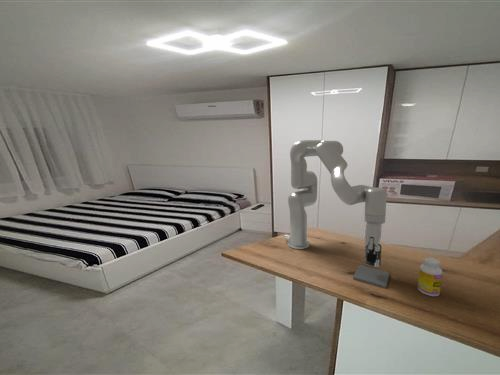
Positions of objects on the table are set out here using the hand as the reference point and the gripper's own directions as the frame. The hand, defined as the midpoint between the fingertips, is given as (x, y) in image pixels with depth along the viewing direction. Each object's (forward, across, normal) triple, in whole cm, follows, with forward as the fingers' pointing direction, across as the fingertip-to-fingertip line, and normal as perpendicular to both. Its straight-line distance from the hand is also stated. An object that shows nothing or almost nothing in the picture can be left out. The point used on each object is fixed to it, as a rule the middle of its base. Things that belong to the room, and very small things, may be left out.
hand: (372, 258), depth 97 cm
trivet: (+9, 0, 0) cm, 9 cm away
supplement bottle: (+9, 0, +19) cm, 21 cm away
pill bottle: (+3, 0, 0) cm, 3 cm away
